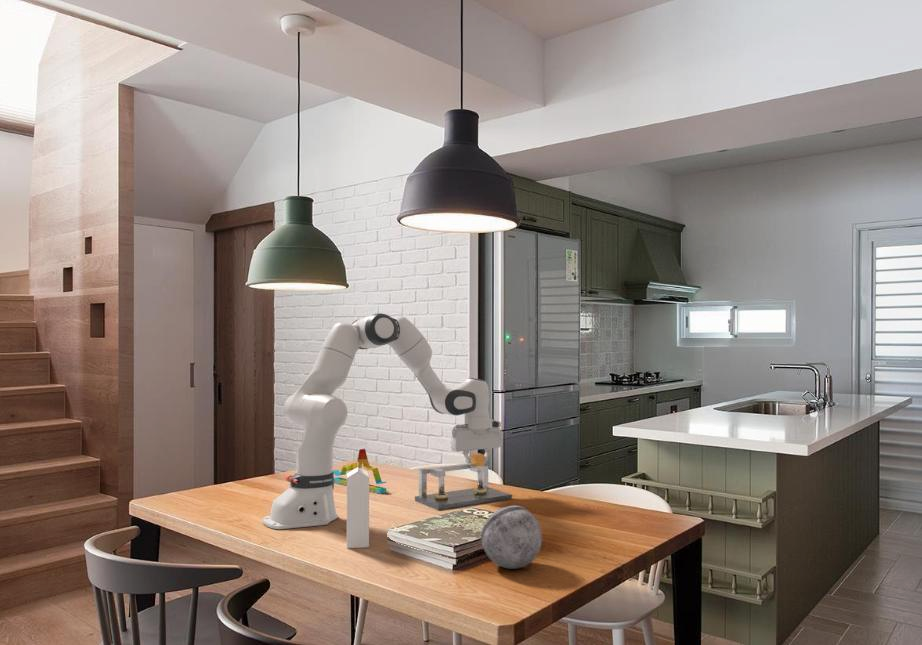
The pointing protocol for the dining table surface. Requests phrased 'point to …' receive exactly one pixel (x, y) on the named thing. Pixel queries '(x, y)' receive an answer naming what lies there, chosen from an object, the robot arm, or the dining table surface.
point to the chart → (361, 458)
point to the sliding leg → (478, 467)
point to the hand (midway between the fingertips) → (477, 462)
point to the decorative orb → (511, 537)
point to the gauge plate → (460, 496)
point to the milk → (357, 509)
